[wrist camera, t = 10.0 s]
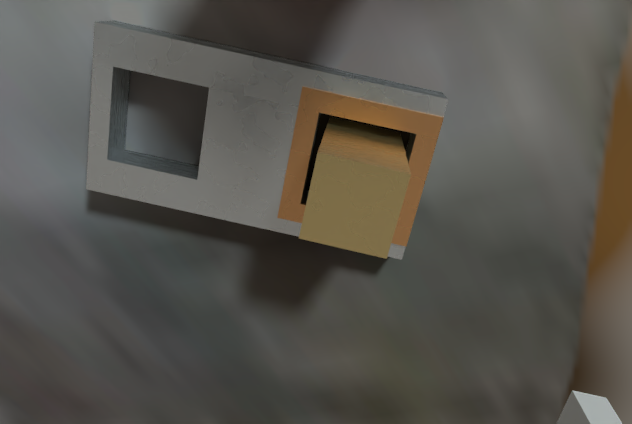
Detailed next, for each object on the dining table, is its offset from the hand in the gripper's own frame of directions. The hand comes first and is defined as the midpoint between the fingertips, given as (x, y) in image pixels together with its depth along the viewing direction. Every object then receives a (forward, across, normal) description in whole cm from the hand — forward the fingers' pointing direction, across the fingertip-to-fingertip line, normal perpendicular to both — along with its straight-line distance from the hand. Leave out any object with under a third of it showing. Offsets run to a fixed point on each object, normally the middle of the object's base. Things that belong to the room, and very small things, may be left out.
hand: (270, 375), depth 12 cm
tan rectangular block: (+23, +2, -1) cm, 23 cm away
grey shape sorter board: (+23, -4, -1) cm, 23 cm away
